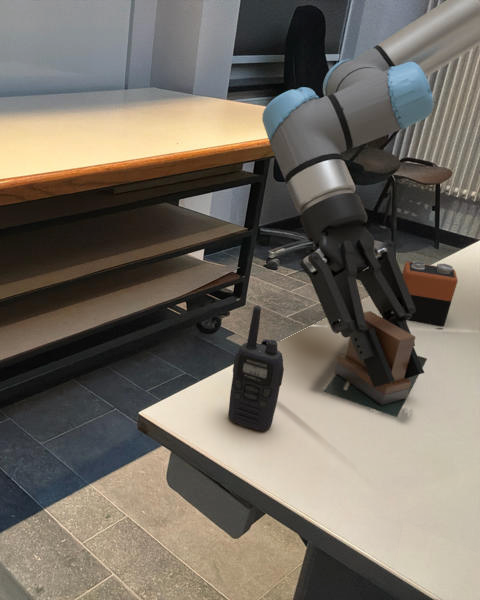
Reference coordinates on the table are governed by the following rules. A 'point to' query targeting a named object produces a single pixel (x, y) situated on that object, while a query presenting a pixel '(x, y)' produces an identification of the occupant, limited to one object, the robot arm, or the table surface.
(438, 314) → the battery
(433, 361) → the table surface
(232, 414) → the two-way radio
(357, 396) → the chalkboard
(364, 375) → the eraser
